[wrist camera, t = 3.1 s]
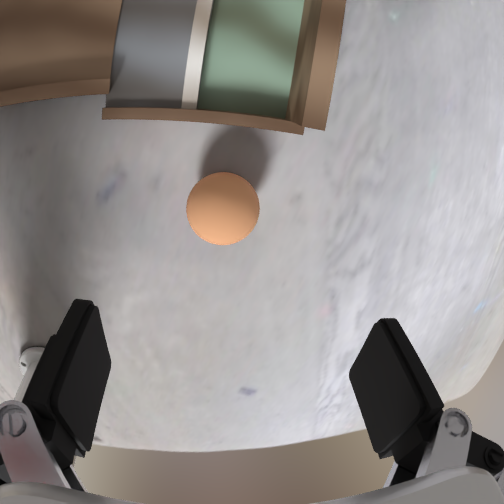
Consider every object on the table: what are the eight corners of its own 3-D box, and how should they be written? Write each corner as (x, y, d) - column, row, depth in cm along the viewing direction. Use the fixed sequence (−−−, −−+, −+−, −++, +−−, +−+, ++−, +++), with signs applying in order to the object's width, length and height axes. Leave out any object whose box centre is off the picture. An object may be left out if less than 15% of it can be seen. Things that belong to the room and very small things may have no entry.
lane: (301, 132, 21) (335, 151, 15) (-2, 125, 17) (-57, 146, 11) (328, -37, 14) (366, -73, 8) (20, -27, 10) (-28, -43, 4)
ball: (250, 228, 25) (257, 261, 20) (188, 223, 24) (181, 255, 20) (260, 168, 22) (269, 189, 18) (192, 161, 22) (184, 181, 17)
